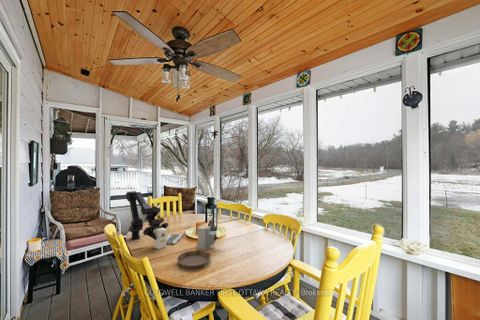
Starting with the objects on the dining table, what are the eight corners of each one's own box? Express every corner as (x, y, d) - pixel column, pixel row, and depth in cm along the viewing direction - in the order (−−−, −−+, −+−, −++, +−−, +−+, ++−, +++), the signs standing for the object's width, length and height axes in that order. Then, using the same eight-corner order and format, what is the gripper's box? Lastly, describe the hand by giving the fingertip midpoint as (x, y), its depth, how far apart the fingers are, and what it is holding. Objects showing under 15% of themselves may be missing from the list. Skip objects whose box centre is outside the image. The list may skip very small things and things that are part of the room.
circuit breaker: (215, 250, 154) (215, 229, 155) (196, 248, 157) (197, 228, 158) (218, 246, 162) (218, 226, 162) (200, 245, 165) (200, 225, 165)
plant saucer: (212, 268, 129) (213, 262, 129) (177, 272, 123) (177, 266, 123) (208, 254, 149) (208, 249, 149) (177, 257, 143) (177, 252, 143)
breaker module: (153, 247, 159) (154, 229, 159) (161, 244, 164) (161, 227, 164) (159, 249, 155) (160, 231, 155) (166, 246, 160) (167, 229, 160)
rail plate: (159, 244, 165) (159, 241, 165) (170, 235, 185) (170, 232, 185) (174, 244, 164) (174, 241, 164) (183, 236, 184) (183, 233, 184)
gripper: (145, 216, 154) (154, 235, 148) (167, 212, 170) (176, 228, 164) (139, 226, 159) (147, 244, 152) (160, 220, 174) (169, 237, 168)
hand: (161, 238), depth 159 cm, fingers open, 8 cm apart
